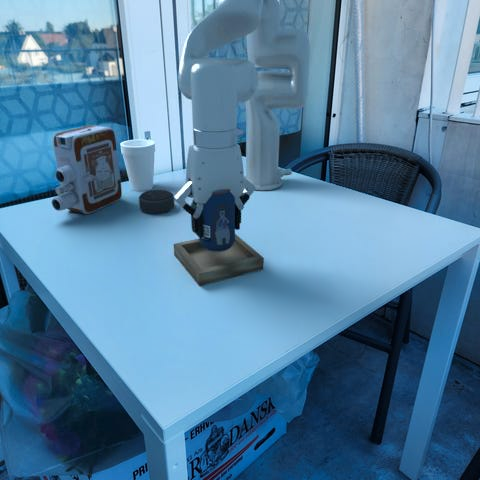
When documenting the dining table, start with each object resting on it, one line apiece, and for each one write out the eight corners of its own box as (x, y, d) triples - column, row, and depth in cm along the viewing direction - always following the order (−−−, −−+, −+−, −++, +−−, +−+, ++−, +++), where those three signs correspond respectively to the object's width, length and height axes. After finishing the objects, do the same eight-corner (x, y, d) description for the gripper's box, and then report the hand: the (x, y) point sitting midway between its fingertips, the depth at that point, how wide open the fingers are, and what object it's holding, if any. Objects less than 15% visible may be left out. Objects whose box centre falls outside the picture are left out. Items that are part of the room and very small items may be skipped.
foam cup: (132, 181, 130) (128, 138, 124) (162, 183, 129) (158, 140, 123) (120, 191, 122) (115, 146, 116) (151, 193, 120) (147, 147, 115)
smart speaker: (149, 201, 116) (148, 187, 114) (180, 204, 113) (179, 190, 112) (133, 213, 108) (132, 198, 106) (166, 217, 106) (164, 202, 104)
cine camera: (44, 218, 104) (27, 136, 96) (101, 194, 120) (91, 121, 111) (71, 225, 101) (55, 140, 92) (127, 199, 116) (118, 125, 107)
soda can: (214, 234, 88) (213, 178, 82) (242, 243, 84) (242, 185, 79) (192, 247, 83) (189, 188, 77) (220, 257, 79) (219, 196, 74)
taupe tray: (232, 241, 93) (232, 231, 92) (263, 269, 82) (263, 257, 81) (174, 254, 88) (173, 243, 87) (199, 286, 77) (198, 274, 76)
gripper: (248, 129, 81) (247, 216, 89) (160, 138, 74) (167, 232, 81) (268, 137, 75) (265, 229, 83) (174, 148, 68) (181, 248, 76)
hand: (216, 230), depth 82 cm, fingers closed on soda can, 7 cm apart
